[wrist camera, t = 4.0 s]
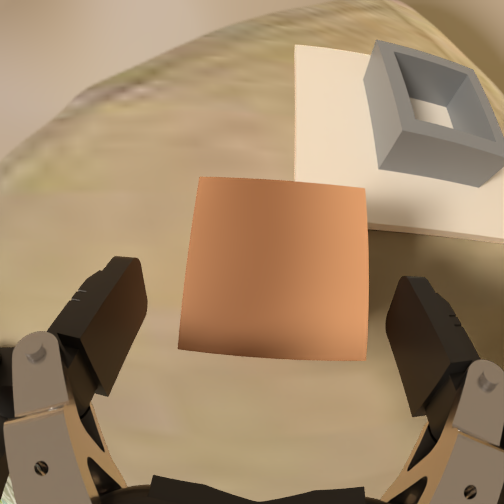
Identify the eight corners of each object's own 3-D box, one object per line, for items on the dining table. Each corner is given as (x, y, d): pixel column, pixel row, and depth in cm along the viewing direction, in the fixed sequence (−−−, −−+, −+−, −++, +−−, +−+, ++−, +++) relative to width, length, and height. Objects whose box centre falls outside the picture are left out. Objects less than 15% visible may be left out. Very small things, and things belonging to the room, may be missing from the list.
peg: (314, 264, 17) (365, 188, 8) (309, 348, 15) (365, 360, 7) (230, 258, 17) (199, 176, 8) (223, 342, 16) (178, 349, 7)
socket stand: (477, 94, 20) (500, 62, 15) (522, 246, 16) (565, 224, 12) (294, 53, 21) (298, 5, 16) (293, 222, 17) (303, 180, 12)
